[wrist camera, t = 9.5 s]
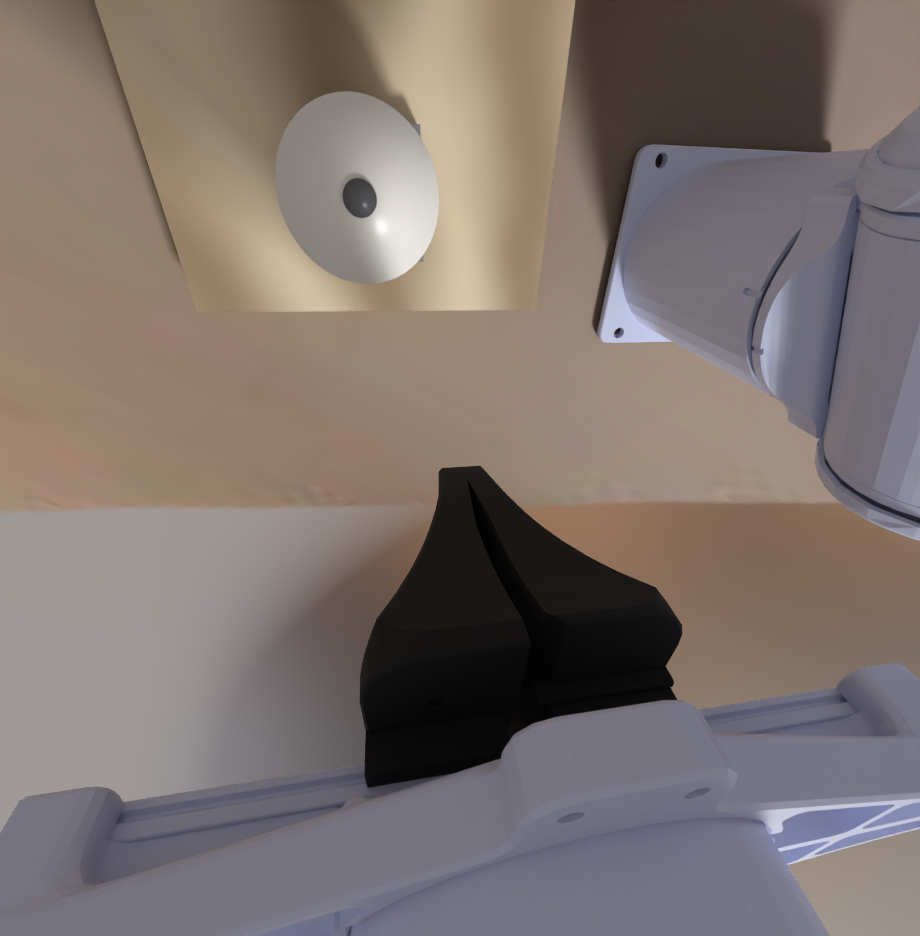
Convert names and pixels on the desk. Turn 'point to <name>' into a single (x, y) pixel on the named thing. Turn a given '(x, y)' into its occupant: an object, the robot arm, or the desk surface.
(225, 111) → the button panel
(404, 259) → the off-white button
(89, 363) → the desk surface
